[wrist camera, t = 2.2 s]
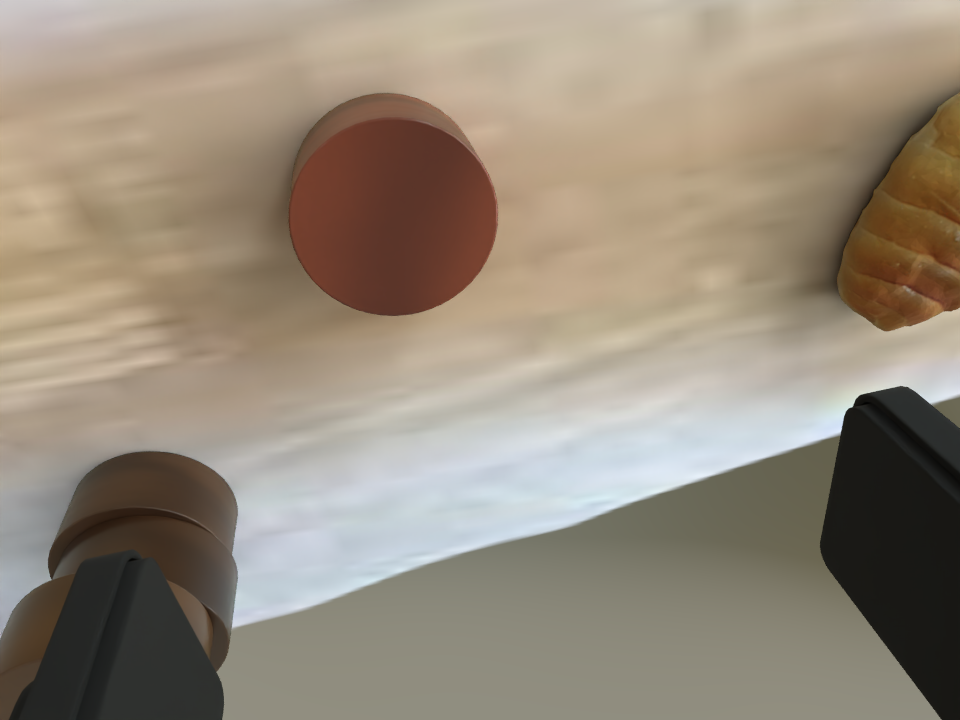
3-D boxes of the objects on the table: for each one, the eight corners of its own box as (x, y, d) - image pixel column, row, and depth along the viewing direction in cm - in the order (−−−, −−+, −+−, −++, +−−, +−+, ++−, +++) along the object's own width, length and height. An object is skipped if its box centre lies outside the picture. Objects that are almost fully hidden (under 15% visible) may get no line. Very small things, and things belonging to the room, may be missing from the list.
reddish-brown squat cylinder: (274, 250, 24) (268, 291, 21) (317, 64, 21) (316, 86, 18) (446, 292, 25) (459, 334, 23) (506, 128, 23) (528, 155, 20)
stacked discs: (58, 560, 29) (-35, 791, 21) (73, 431, 26) (-31, 646, 18) (230, 577, 31) (200, 793, 23) (261, 459, 28) (239, 663, 20)
